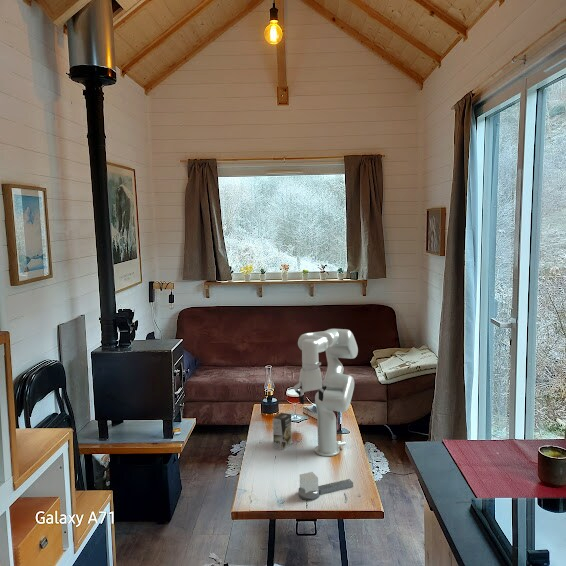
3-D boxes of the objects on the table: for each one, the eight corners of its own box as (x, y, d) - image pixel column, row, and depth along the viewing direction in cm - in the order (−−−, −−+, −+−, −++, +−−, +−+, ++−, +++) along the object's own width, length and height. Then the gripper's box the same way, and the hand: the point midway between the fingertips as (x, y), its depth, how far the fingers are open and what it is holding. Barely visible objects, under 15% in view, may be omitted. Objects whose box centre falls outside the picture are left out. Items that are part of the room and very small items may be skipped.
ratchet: (346, 480, 239) (346, 468, 239) (356, 489, 231) (356, 477, 230) (295, 492, 230) (295, 480, 230) (303, 502, 222) (303, 490, 221)
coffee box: (283, 450, 272) (283, 419, 270) (273, 447, 276) (272, 417, 274) (292, 443, 280) (291, 413, 278) (281, 441, 283) (281, 412, 281)
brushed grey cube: (312, 484, 231) (312, 471, 231) (318, 491, 226) (318, 477, 225) (299, 487, 229) (299, 474, 229) (305, 494, 224) (305, 480, 223)
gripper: (323, 361, 251) (324, 396, 253) (290, 366, 244) (291, 402, 247) (331, 365, 244) (331, 401, 246) (296, 370, 237) (297, 407, 240)
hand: (311, 401), depth 246 cm, fingers open, 9 cm apart
